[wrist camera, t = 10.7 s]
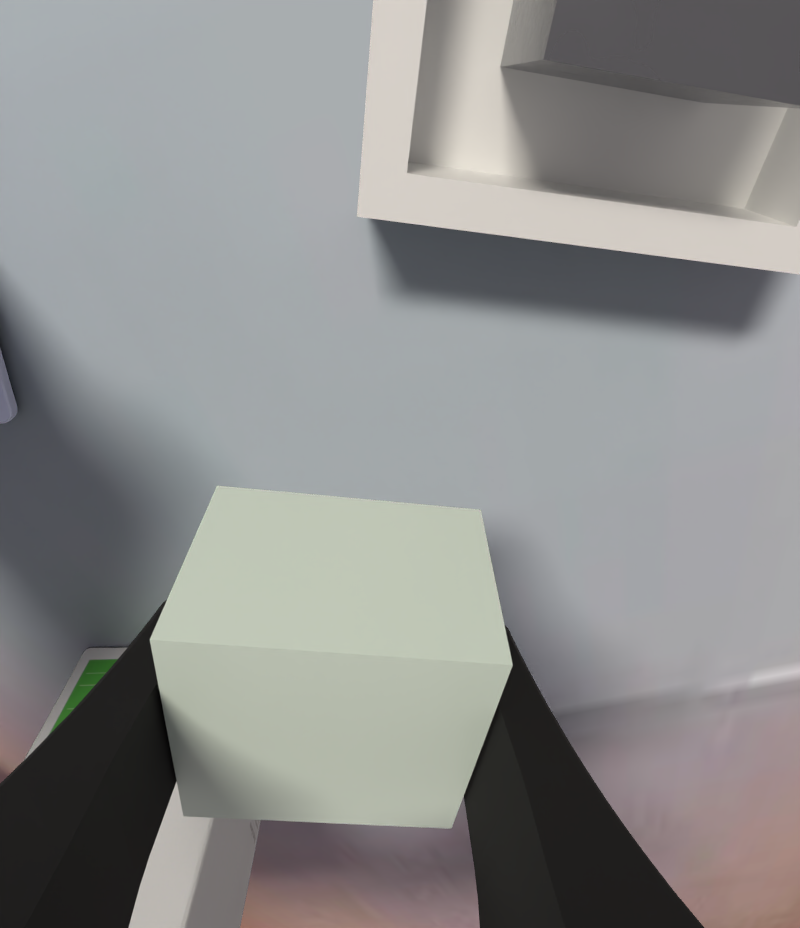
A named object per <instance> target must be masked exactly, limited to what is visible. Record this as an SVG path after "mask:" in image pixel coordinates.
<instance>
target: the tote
mask: <svg viewBox="0 0 800 928" xmlns="http://www.w3.org/2000/svg"><path fill="white" fill-rule="evenodd" d="M512 5H513V0H373V12H372V25H371V39H370V52H369V65H368V78H367V92H366V105H365V118H364V131H363V145H362V158H361V171H360V184H359V198H358V211H357V217H364V218H371V219H379V220H387V221H394V222H402V223H410V224H417V225H425V226H433V227H440V228H448V229H456V230H463V231H471V232H479V233H486V234H494V235H502V236H509V237H517V238H525V239H532V240H540V241H548V242H555V243H563V244H571V245H578V246H586V247H594V248H601V249H609V250H617V251H624V252H632V253H640V254H647V255H655V256H663V257H670V258H678V259H686V260H693V261H701V262H709V263H716V264H724V265H732V266H739V267H747V268H755V269H762V270H770V271H778V272H785V273H793V274H800V108H784V107H767V106H749V105H732V104H715V103H702V102H696V101H690V100H685V99H679V98H673V97H668V96H662V95H657V94H651V93H645V92H640V91H634V90H628V89H623V88H617V87H611V86H606V85H600V84H594V83H589V82H583V81H578V80H572V79H566V78H561V77H555V76H549V75H544V74H538V73H532V72H527V71H521V70H515V69H510V68H504V67H500V66H501V61H502V55H503V50H504V45H505V40H506V35H507V30H508V25H509V20H510V15H511V10H512Z"/></svg>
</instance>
